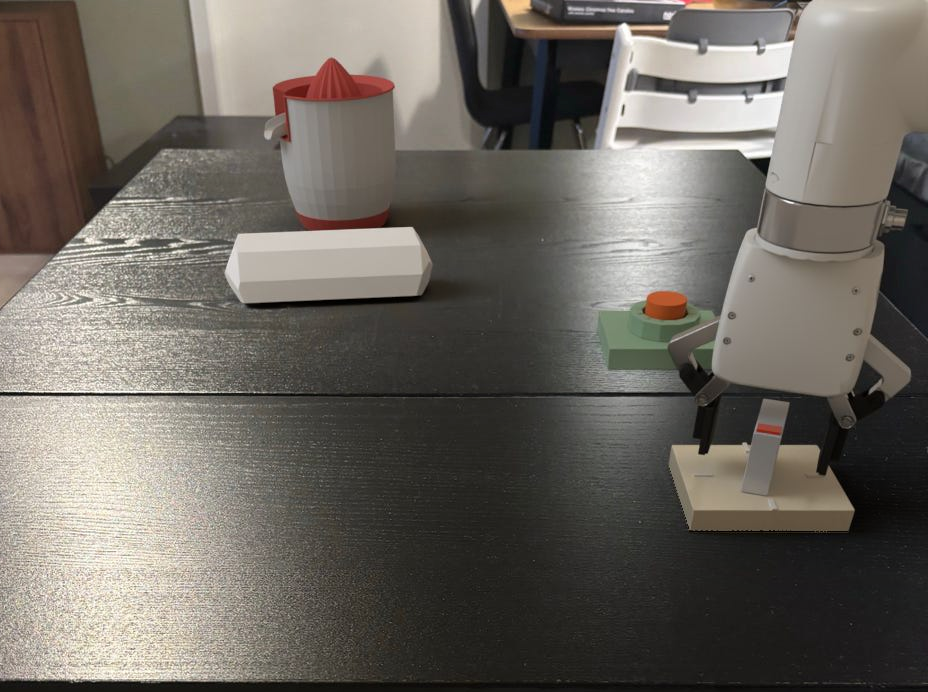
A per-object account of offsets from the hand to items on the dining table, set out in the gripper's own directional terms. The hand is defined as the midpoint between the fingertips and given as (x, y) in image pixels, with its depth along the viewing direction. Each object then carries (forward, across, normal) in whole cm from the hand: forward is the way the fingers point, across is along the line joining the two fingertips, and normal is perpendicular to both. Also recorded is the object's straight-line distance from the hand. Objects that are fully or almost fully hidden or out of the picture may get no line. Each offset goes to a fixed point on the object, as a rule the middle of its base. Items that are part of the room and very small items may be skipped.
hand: (762, 456), depth 73 cm
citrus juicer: (+4, +63, -53) cm, 82 cm away
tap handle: (+2, 0, 0) cm, 2 cm away
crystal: (+4, +52, -29) cm, 60 cm away
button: (0, +13, -26) cm, 29 cm away
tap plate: (+4, 0, 0) cm, 4 cm away
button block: (+4, +13, -26) cm, 29 cm away
